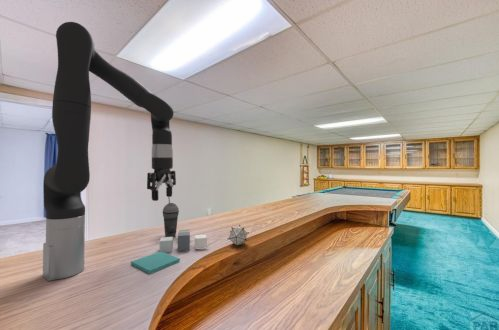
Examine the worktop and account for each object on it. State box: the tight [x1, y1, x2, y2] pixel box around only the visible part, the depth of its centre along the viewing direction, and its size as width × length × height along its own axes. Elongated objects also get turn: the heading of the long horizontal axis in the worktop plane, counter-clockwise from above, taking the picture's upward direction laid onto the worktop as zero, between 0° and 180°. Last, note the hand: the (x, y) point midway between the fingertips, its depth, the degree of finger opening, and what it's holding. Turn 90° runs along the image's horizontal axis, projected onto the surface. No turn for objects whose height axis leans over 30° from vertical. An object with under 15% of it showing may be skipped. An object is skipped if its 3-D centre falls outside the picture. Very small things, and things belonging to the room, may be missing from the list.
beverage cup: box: [161, 197, 180, 239], centre depth 103 cm, size 7×7×20 cm
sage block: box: [178, 228, 191, 233], centre depth 98 cm, size 4×4×4 cm
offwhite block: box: [194, 234, 208, 250], centre depth 90 cm, size 4×4×4 cm
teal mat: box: [130, 251, 181, 275], centre depth 75 cm, size 11×11×1 cm
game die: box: [227, 224, 250, 248], centre depth 93 cm, size 9×8×10 cm
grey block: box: [158, 236, 174, 253], centre depth 86 cm, size 4×4×4 cm
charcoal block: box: [177, 231, 191, 252], centre depth 88 cm, size 4×4×6 cm
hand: (162, 198), depth 85 cm, fingers open, 8 cm apart
